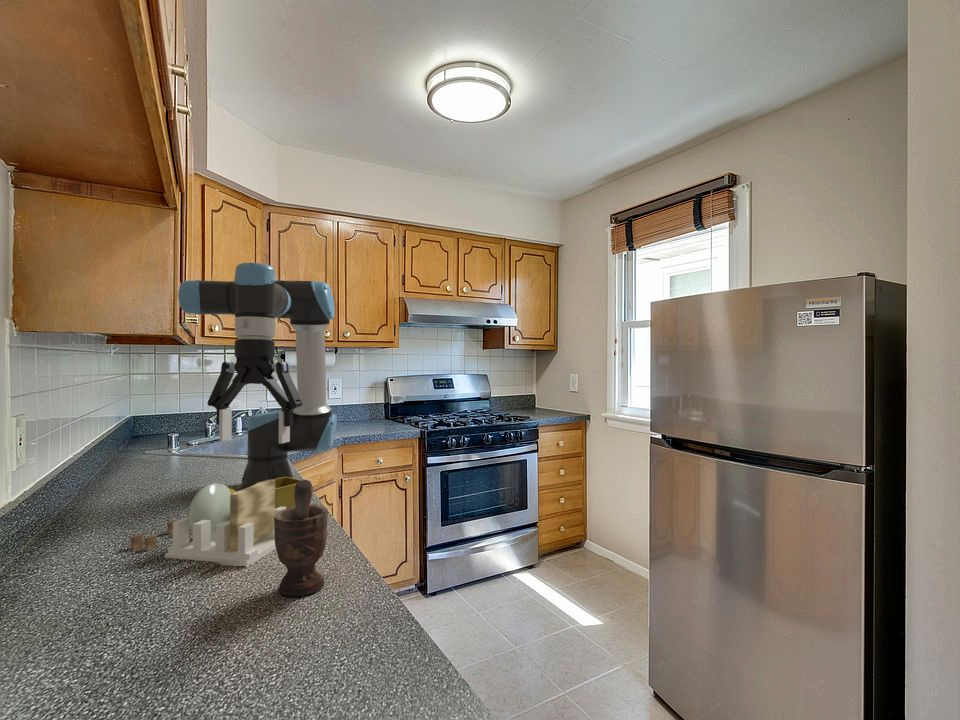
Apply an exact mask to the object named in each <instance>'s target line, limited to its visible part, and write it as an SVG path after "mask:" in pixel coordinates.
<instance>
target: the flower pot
mask: <svg viewBox="0 0 960 720" xmlns="http://www.w3.org/2000/svg"><path fill="white" fill-rule="evenodd" d="M272 480H275V509H276V508H278V507H280V506H281V507H286V508H289V507H294V506H296V505H295V499H294V491H295V486H296V484H297V483H298V482H299V481H301V480H302V479H299V478H295V477H293V478H290V477H281V478H277V479H272ZM258 483H261V482H258ZM258 483H256V484H258Z"/></svg>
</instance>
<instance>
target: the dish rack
mask: <svg viewBox="0 0 960 720" xmlns="http://www.w3.org/2000/svg"><path fill="white" fill-rule="evenodd" d="M284 509H286V507H281V506H280V507H278V508H276V509H274V516H275V515H276V513H278V512H279V511H281V510H284ZM177 520H178V519H177ZM189 537H190V533H189V524H188V518H180V519H179V520H178V521H175V522H173V535H172V545H171V546H169V547H168V549H167V550H168V551H167V552H166V553H164V558H167V559H179V560H191V561H204V562H215V563H216V564H221V565H220V566H225V565H233V566H232V567H236V566H245V567H244V568H249V567H250V566H251V565H250V564H252V565H253V564H255V563H256V562H258V561H260V560H261V559H263V558H264V557H266V556H268V555H269V554H271V553H272V552H274V551H275V550H276V546H275V529H274V525H273V532H271V533H269V534H267V535H266V536H264V537H262V538H260V539H258V540H257V541H255V542H253V541H254V523H246V524H244V525H242V526H240V527H239V539H238V551H237V552H236V551H230V521H228V522H227V521H225V522H222V523H220V524H218V525H216V536H215V537H213V538H211V520H201V521H199V522H197V523H194V524H193V534H192V540H191V541H190V538H189ZM273 550H274V551H273ZM270 552H271V553H270ZM262 557H263V558H262ZM259 559H260V560H259ZM254 562H255V563H254ZM249 565H250V566H249Z"/></svg>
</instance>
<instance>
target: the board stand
mask: <svg viewBox="0 0 960 720" xmlns="http://www.w3.org/2000/svg"><path fill="white" fill-rule="evenodd" d="M175 521H178V519H174V520H171V521H168V522H167V524H166V525H167V526H166V527H167V529H166V534H167V535H171V536H173V522H175ZM190 533H192V532H191V531H190V528H189V534H190ZM157 537H158V536H157V534H152V535H150V536H147V537H144V534H143V533H138V534H136V535H133V536H130V551H131V550H132V551H141V552H149V551H152V550H154V549H156V548H157V545H158V544H157V540H158V539H157Z"/></svg>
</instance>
